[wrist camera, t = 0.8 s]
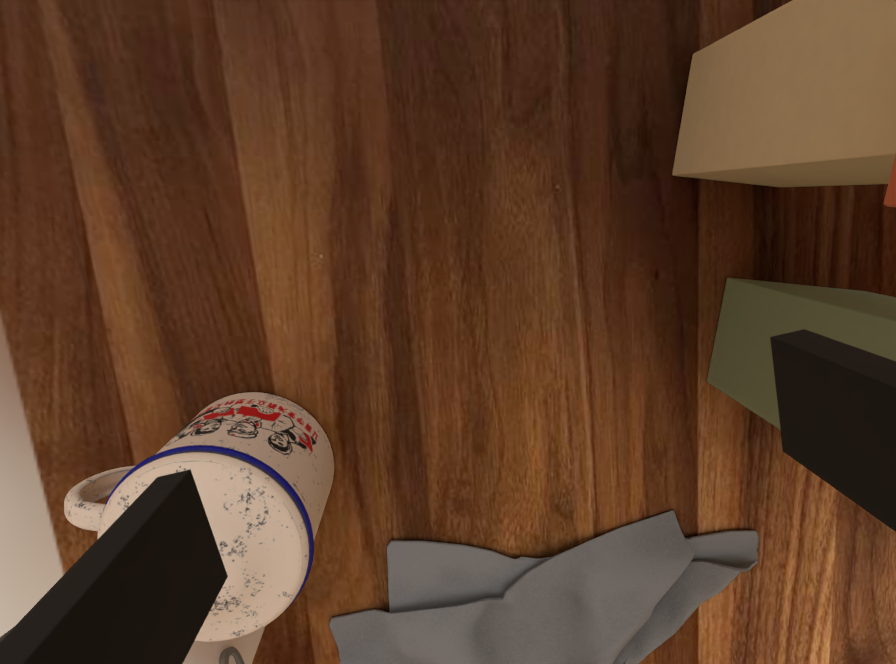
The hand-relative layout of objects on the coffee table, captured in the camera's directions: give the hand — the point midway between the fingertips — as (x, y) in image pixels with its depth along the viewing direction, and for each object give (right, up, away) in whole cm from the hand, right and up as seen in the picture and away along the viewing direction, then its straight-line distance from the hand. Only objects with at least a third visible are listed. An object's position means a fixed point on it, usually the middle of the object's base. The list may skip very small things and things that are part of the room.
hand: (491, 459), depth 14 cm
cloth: (+5, -15, +24) cm, 29 cm away
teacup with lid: (-13, -4, +21) cm, 25 cm away
